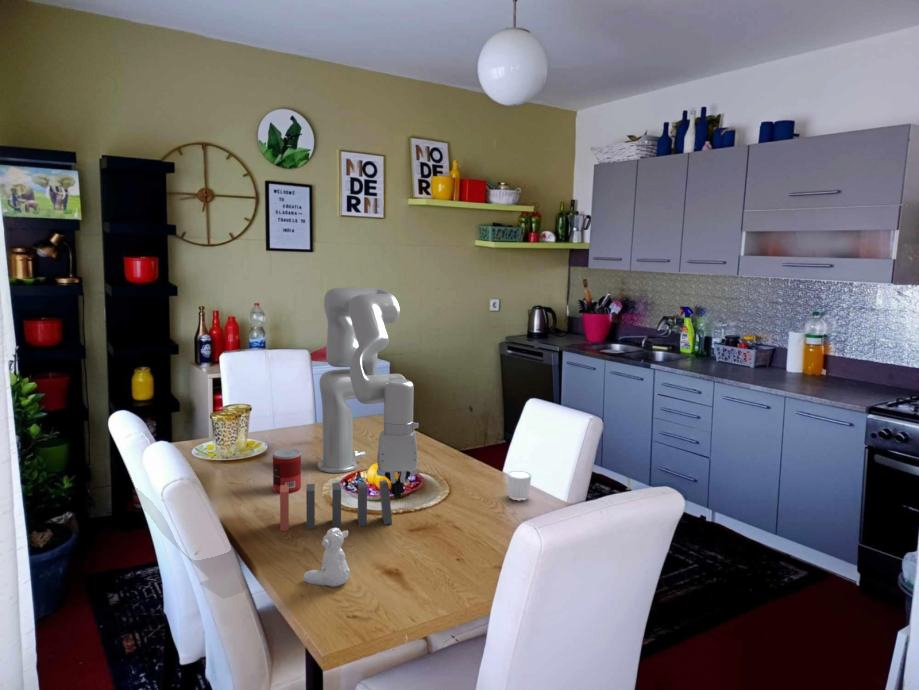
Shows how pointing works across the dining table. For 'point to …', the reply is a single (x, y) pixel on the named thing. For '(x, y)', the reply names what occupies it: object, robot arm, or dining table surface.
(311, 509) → the domino
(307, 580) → the sitting furry creature
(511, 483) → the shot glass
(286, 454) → the canned food
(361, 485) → the domino
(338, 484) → the domino
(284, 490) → the red domino
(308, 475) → the dining table surface
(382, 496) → the domino
